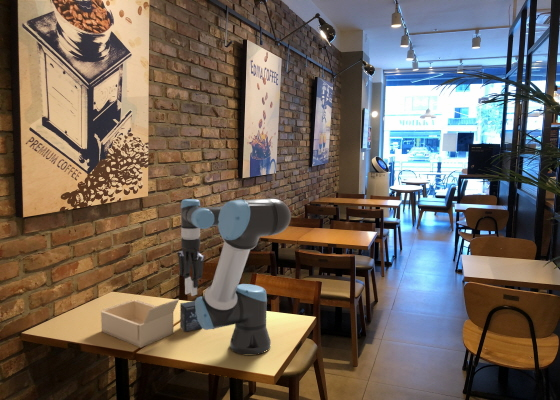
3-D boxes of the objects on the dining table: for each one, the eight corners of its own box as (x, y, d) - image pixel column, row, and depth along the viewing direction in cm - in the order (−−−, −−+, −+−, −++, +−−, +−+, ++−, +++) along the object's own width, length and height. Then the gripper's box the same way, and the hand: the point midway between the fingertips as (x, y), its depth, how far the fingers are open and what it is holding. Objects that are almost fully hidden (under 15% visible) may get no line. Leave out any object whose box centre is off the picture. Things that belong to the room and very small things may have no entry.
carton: (174, 332, 178) (174, 311, 177) (139, 348, 164) (138, 325, 163) (135, 318, 191) (134, 299, 190) (99, 331, 177) (98, 310, 176)
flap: (173, 312, 175) (179, 299, 172) (144, 323, 163) (150, 310, 161) (172, 311, 175) (178, 298, 172) (143, 322, 163) (149, 309, 161)
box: (185, 332, 178) (185, 307, 177) (180, 327, 183) (179, 303, 182) (203, 328, 182) (203, 303, 181) (197, 323, 187) (197, 299, 186)
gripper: (211, 238, 177) (211, 295, 180) (183, 233, 186) (184, 288, 188) (198, 241, 171) (198, 300, 173) (170, 236, 179) (170, 292, 182)
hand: (191, 294), depth 181 cm, fingers open, 3 cm apart
